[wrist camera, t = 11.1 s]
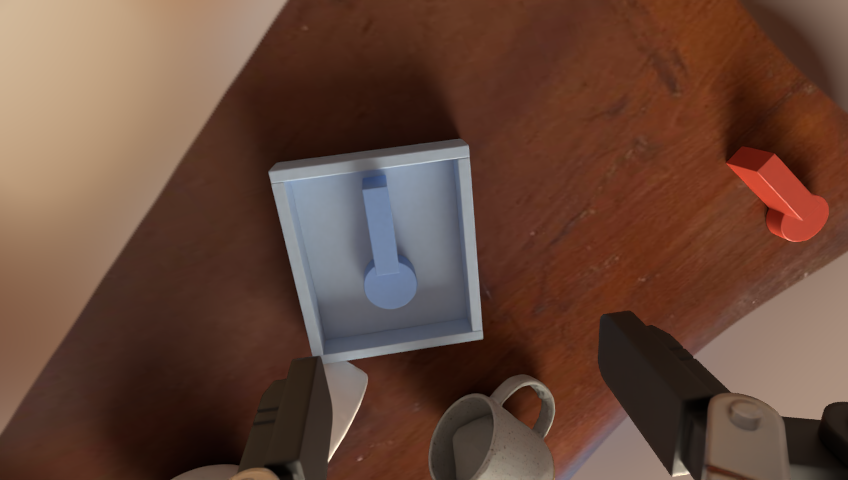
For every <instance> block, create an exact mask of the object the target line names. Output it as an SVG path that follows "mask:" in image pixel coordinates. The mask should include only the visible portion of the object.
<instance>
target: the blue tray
mask: <svg viewBox="0 0 848 480" xmlns="http://www.w3.org/2000/svg"><path fill="white" fill-rule="evenodd" d="M268 173H269V177H270V181H271V183H272V184H271V186H272V190H273V194H274V198H275V202H276V206H277V211H278V215H279V219H280V223H281V227H282V231H283V235H284V240H285V244H286V248H287V252H288V256H289V260H290V264H291V268H292V273H293V277H294V281H295V285H296V289H297V293H298V297H299V301H300V306H301V310H302V314H303V318H304V322H305V326H306V330H307V335H308V339H309V343H310V347H311V351H312V355H313V356H320V357H321V359H322V362H323V364H328V363H334V362H340V361H347V360H353V359H359V358H366V357H372V356H378V355H385V354H391V353H398V352H404V351H410V350H417V349H423V348H429V347H436V346H442V345H448V344H455V343H461V342H467V341H474V340H480V339H483V330H482V317H481V303H480V290H479V277H478V263H477V250H476V236H475V223H474V209H473V196H472V183H471V169H470V158H469V145H468V144H467V143H466V142H464V141H463V140H462V139H454V140H446V141H439V142H431V143H423V144H416V145H408V146H400V147H393V148H385V149H378V150H370V151H362V152H355V153H347V154H339V155H332V156H324V157H317V158H309V159H301V160H294V161H286V162H278V163H276V164H275V165H274V166H273V167H272V168H271V169H270V170H269V172H268ZM383 175H386V179H387V185H388V192H389V199H390V206H391V213H392V219H393V226H394V233H395V240H396V247H397V253H398V254H399V255H402V256H404V257H405V258H407V259H408V260H409V261H410V262H411V263H412V265H413V267H414V269H415V273H416V278H417V290H416V293H415V295H414V297H413V298H412V299H411V300H410V301H409V302H408V303H407V304H405V305H404V306H402V307H399V308H395V309H385V308H381V307H378V306H376V305H374V304H373V303H372V302H371V301H370V300H369V299H368V298H367V296H366V294H365V291H364V273H365V269H366V267H367V265H368V264H369V262H370V261H371V260H373V254H372V248H371V242H370V236H369V230H368V224H367V218H366V212H365V206H364V200H363V195H362V181H363V178H368V177H375V176H383Z"/></svg>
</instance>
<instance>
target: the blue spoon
mask: <svg viewBox="0 0 848 480" xmlns="http://www.w3.org/2000/svg"><path fill="white" fill-rule="evenodd" d="M362 195H363V200H364V206H365V212H366V218H367V224H368V230H369V236H370V242H371V248H372V254H373V260H371V261H370V262H369V264H368V265H367V267H366V269H365V273H364V291H365V294H366V296H367V298H368V299H369V300H370V301H371V302H372V303H373V304H374V305H376V306H378V307H381V308H385V309H395V308H399V307H402V306H404V305H405V304H407V303H408V302H409V301H410V300H411V299H412V298H413V297H414V295H415V293H416V290H417V278H416V273H415V269H414V267H413V265H412V263H411V262H410V261H409V260H408V259H407V258H405V257H404V256H402V255H399V254H398V253H397V247H396V240H395V233H394V226H393V219H392V213H391V206H390V199H389V192H388V185H387V179H386V175H383V176H375V177H368V178H363V181H362Z"/></svg>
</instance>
